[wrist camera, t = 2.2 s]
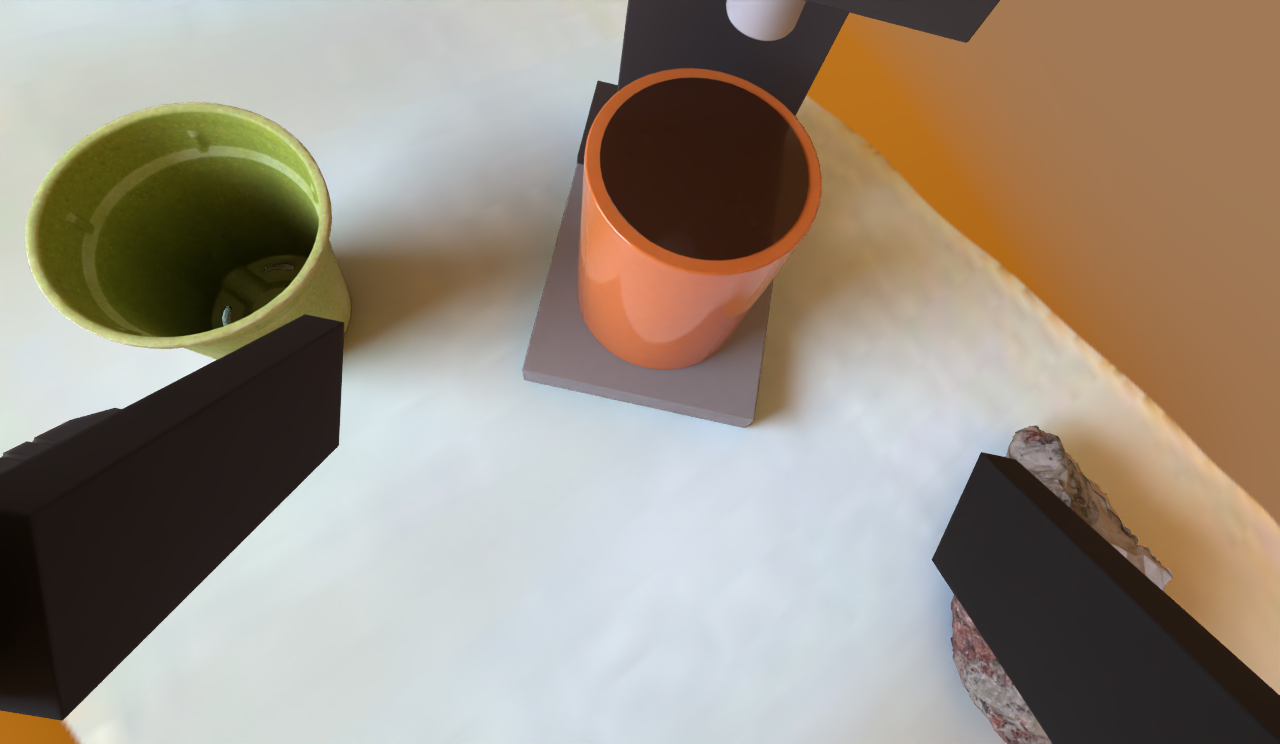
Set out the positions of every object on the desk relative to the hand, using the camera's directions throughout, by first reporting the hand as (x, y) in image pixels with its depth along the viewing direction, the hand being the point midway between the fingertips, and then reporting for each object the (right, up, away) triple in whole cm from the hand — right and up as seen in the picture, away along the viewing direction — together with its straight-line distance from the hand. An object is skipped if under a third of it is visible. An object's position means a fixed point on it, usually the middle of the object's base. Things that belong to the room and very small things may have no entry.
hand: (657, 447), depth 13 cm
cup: (+1, +6, +18) cm, 19 cm away
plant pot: (-17, +4, +17) cm, 24 cm away
